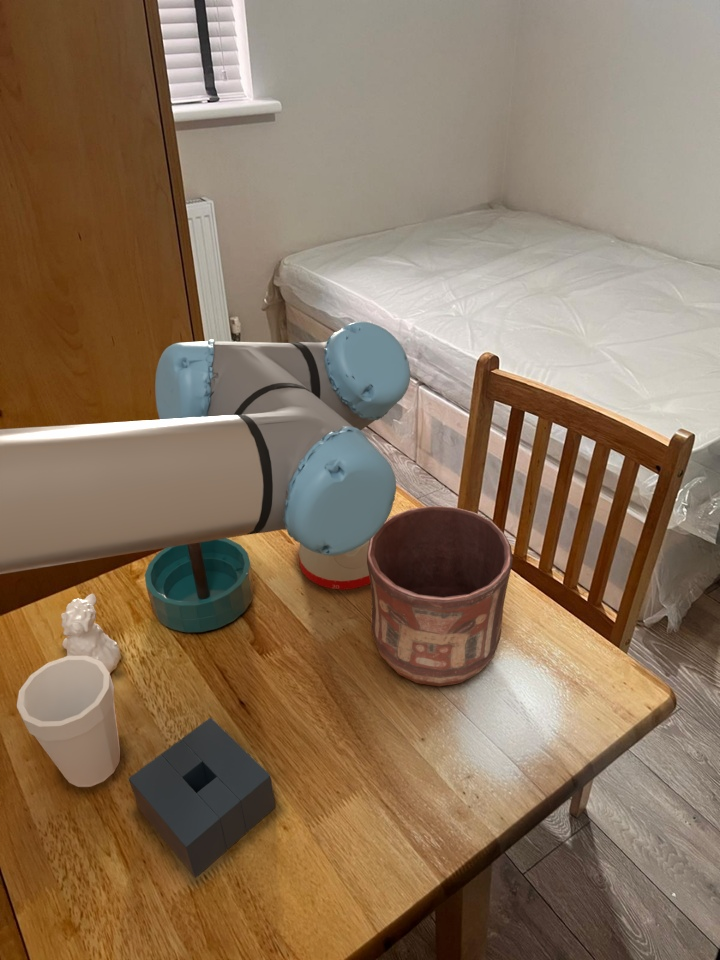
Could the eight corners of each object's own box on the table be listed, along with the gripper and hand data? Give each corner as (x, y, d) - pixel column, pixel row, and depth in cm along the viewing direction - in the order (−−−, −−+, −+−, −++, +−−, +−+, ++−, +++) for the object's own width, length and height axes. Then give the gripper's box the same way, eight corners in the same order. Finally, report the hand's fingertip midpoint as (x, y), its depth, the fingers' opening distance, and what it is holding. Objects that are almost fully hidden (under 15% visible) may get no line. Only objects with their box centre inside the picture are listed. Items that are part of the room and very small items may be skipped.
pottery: (351, 621, 102) (347, 520, 92) (465, 592, 107) (474, 493, 96) (395, 722, 89) (396, 616, 78) (524, 684, 93) (542, 579, 83)
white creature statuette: (68, 641, 100) (45, 576, 94) (131, 638, 101) (112, 573, 94) (46, 697, 93) (19, 631, 86) (115, 694, 93) (93, 628, 86)
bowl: (157, 647, 99) (149, 615, 96) (149, 578, 111) (141, 547, 107) (262, 622, 103) (258, 590, 99) (244, 557, 114) (240, 527, 111)
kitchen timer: (399, 579, 109) (400, 498, 101) (310, 597, 107) (303, 516, 98) (374, 524, 120) (373, 447, 112) (292, 539, 118) (284, 461, 109)
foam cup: (77, 722, 90) (48, 649, 82) (147, 734, 88) (124, 661, 80) (33, 792, 82) (-2, 719, 74) (109, 807, 80) (80, 733, 73)
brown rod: (198, 600, 105) (172, 475, 93) (196, 592, 107) (171, 467, 94) (210, 597, 106) (187, 472, 93) (209, 589, 107) (185, 465, 95)
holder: (195, 878, 74) (185, 847, 70) (139, 810, 80) (127, 778, 76) (275, 807, 80) (270, 775, 76) (217, 749, 86) (210, 716, 83)
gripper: (210, 520, 63) (147, 571, 80) (403, 415, 77) (314, 477, 95) (165, 446, 63) (112, 512, 80) (366, 354, 77) (284, 427, 95)
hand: (221, 493), depth 87 cm, fingers open, 13 cm apart
